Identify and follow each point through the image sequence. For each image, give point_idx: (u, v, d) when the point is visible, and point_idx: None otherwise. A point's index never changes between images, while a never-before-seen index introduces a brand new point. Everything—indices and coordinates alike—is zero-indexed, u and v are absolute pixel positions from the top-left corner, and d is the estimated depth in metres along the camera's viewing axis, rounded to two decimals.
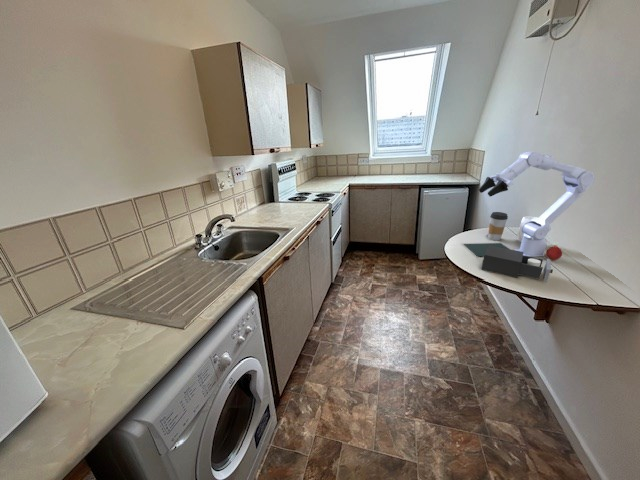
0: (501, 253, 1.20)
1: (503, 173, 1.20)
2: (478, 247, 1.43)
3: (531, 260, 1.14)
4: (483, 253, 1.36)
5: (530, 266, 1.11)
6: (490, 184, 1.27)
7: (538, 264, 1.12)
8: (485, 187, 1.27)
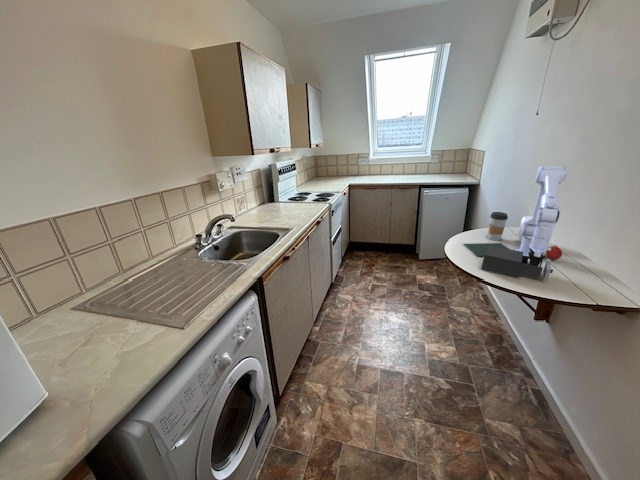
0: (501, 253, 1.20)
1: None
2: (478, 247, 1.43)
3: None
4: (483, 253, 1.36)
5: (530, 266, 1.11)
6: None
7: None
8: None
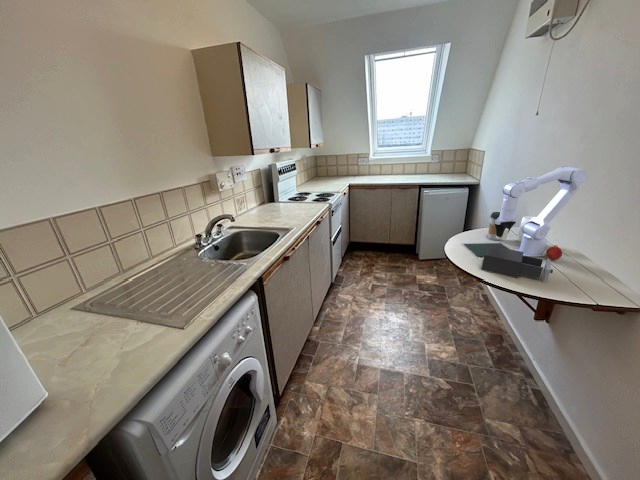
0: (501, 253, 1.20)
1: (513, 216, 1.26)
2: (478, 247, 1.43)
3: None
4: (483, 253, 1.36)
5: (530, 266, 1.11)
6: None
7: (504, 231, 1.29)
8: None
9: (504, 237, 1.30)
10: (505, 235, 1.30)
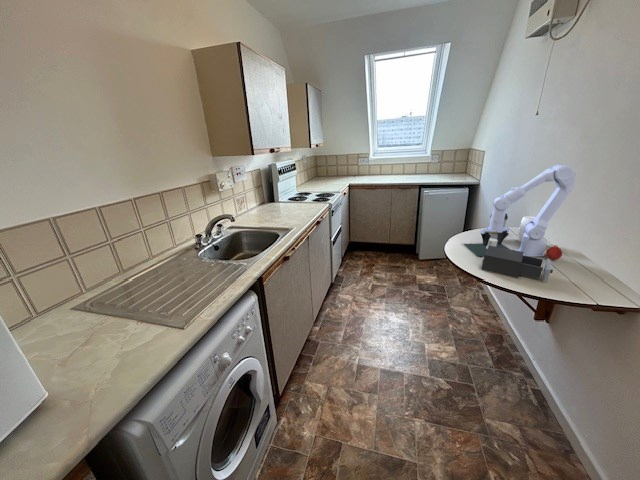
0: (501, 253, 1.20)
1: (501, 227, 1.34)
2: (478, 247, 1.43)
3: (490, 239, 1.41)
4: (483, 253, 1.36)
5: (530, 266, 1.11)
6: None
7: (491, 242, 1.38)
8: None
9: None
10: None
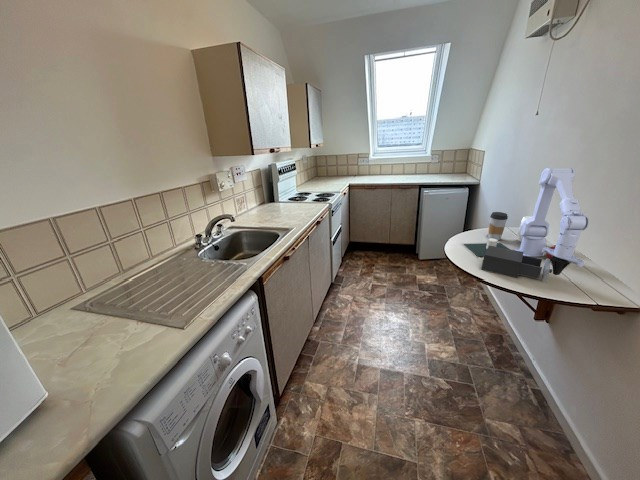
0: (501, 253, 1.20)
1: None
2: (478, 247, 1.43)
3: (490, 239, 1.41)
4: (483, 253, 1.36)
5: (529, 266, 1.11)
6: None
7: (491, 242, 1.38)
8: None
9: None
10: None
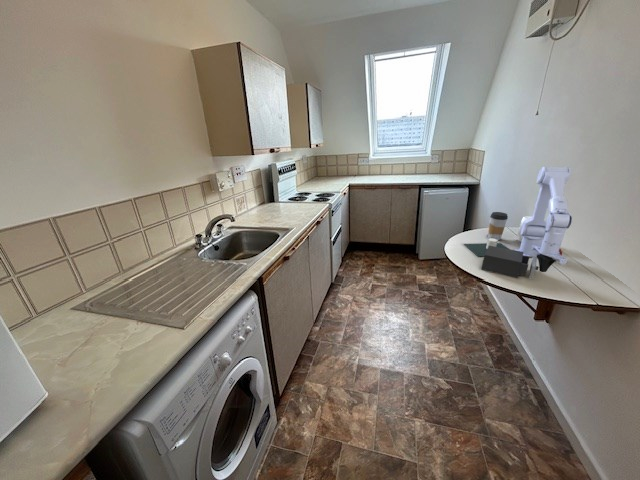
0: (501, 253, 1.20)
1: None
2: (478, 247, 1.43)
3: (490, 239, 1.41)
4: (483, 253, 1.36)
5: None
6: None
7: (491, 242, 1.38)
8: None
9: None
10: None
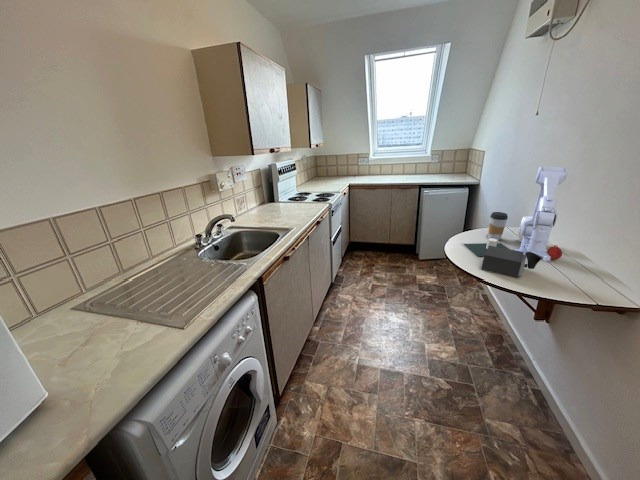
0: (501, 253, 1.20)
1: None
2: (478, 247, 1.43)
3: (490, 239, 1.41)
4: (483, 253, 1.36)
5: None
6: None
7: (491, 242, 1.38)
8: None
9: None
10: None
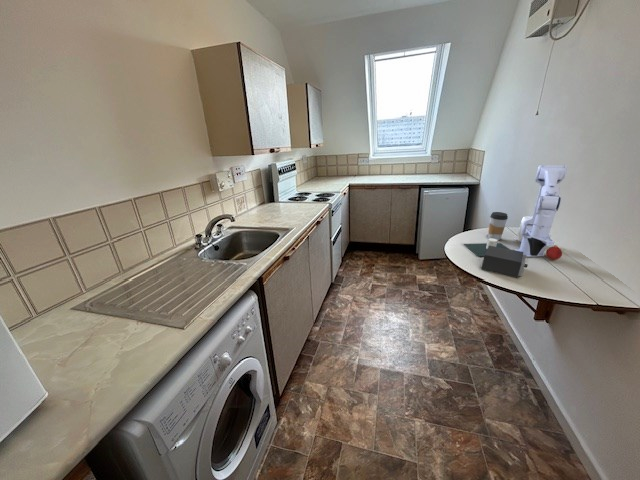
0: (501, 253, 1.20)
1: None
2: (478, 247, 1.43)
3: (490, 239, 1.41)
4: (483, 253, 1.36)
5: None
6: None
7: (491, 242, 1.38)
8: None
9: None
10: None
